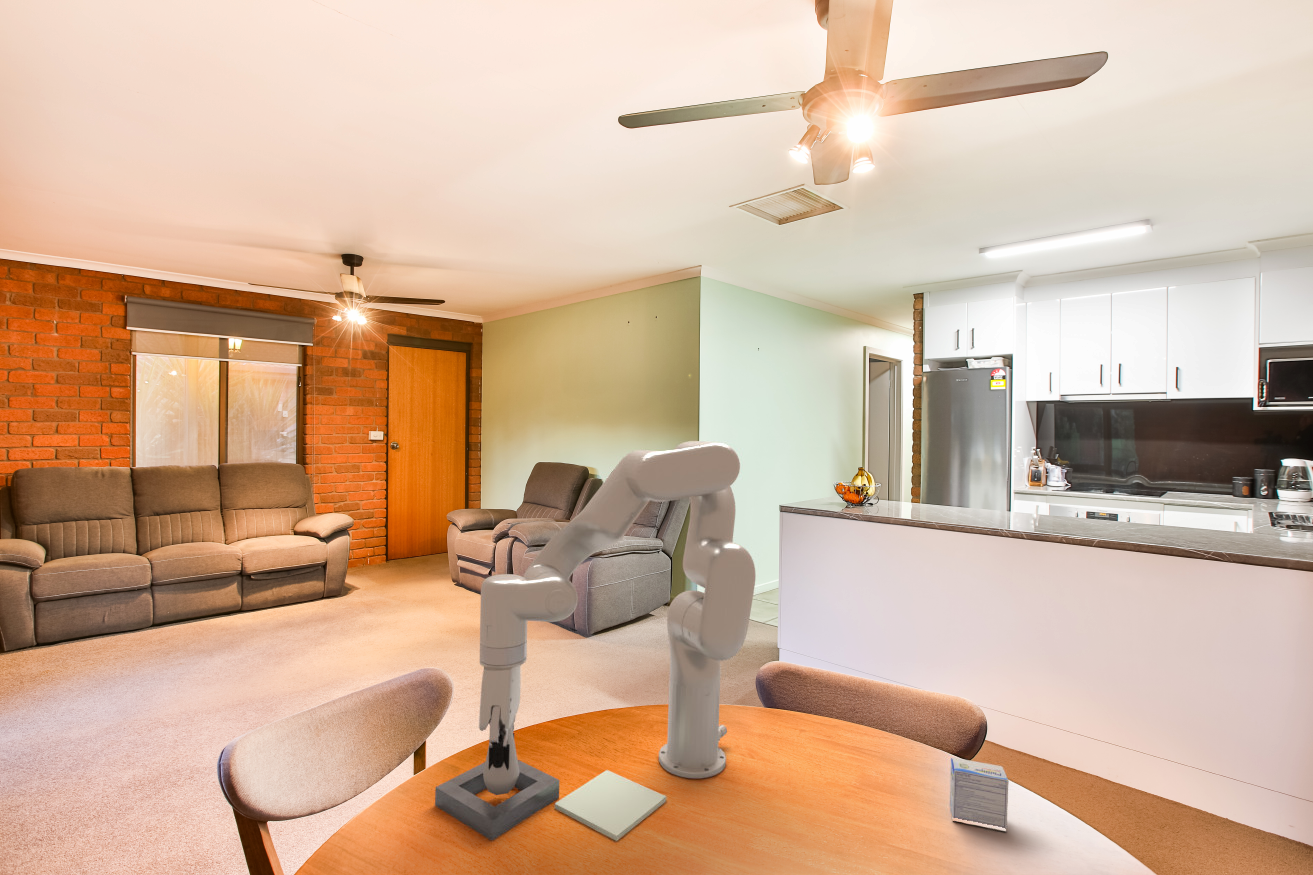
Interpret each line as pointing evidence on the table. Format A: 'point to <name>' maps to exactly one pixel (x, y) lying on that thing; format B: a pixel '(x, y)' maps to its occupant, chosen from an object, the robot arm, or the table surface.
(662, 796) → the mat
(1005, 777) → the medicine box
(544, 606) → the robot arm
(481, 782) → the grey square frame
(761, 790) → the table surface
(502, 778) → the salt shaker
